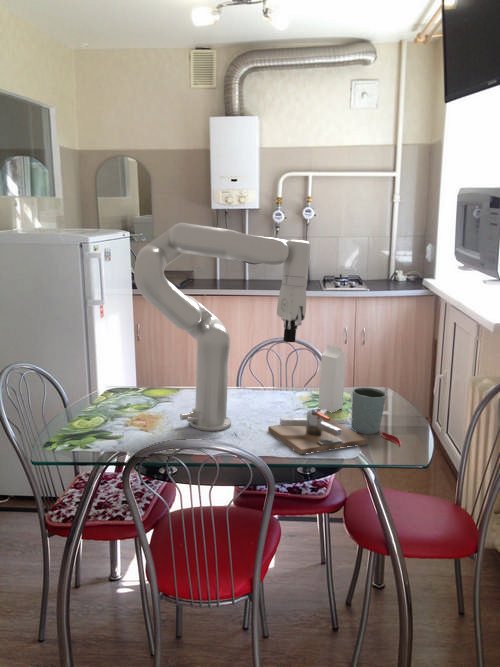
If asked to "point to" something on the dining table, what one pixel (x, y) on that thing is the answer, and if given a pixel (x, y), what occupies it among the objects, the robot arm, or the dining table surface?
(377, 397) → the grey-green cup
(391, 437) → the cayenne pepper
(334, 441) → the level window
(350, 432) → the board
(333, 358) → the milk
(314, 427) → the capstan
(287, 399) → the dining table surface
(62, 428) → the dining table surface
